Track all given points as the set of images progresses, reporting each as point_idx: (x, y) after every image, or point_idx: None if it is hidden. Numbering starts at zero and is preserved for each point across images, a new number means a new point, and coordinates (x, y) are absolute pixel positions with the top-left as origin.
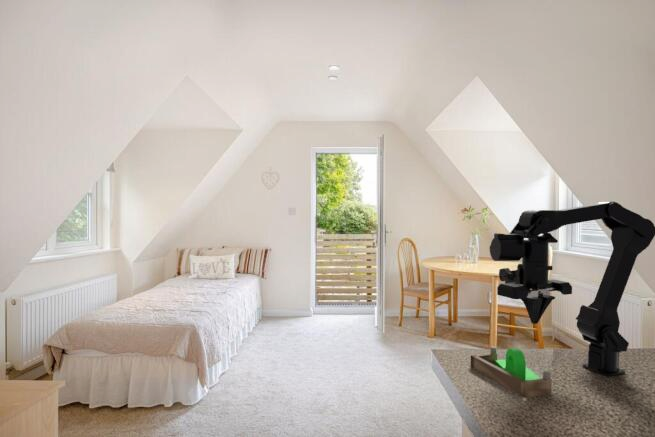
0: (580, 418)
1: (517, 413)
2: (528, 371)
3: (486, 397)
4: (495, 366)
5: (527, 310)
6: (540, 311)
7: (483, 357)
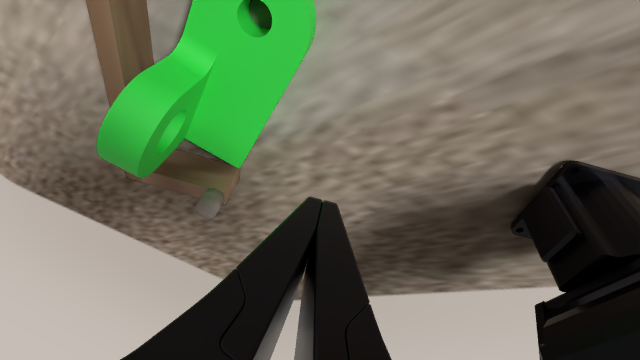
0: (201, 242)
1: (85, 174)
2: (256, 108)
3: (44, 94)
4: (108, 43)
5: (236, 270)
6: (295, 351)
7: None
